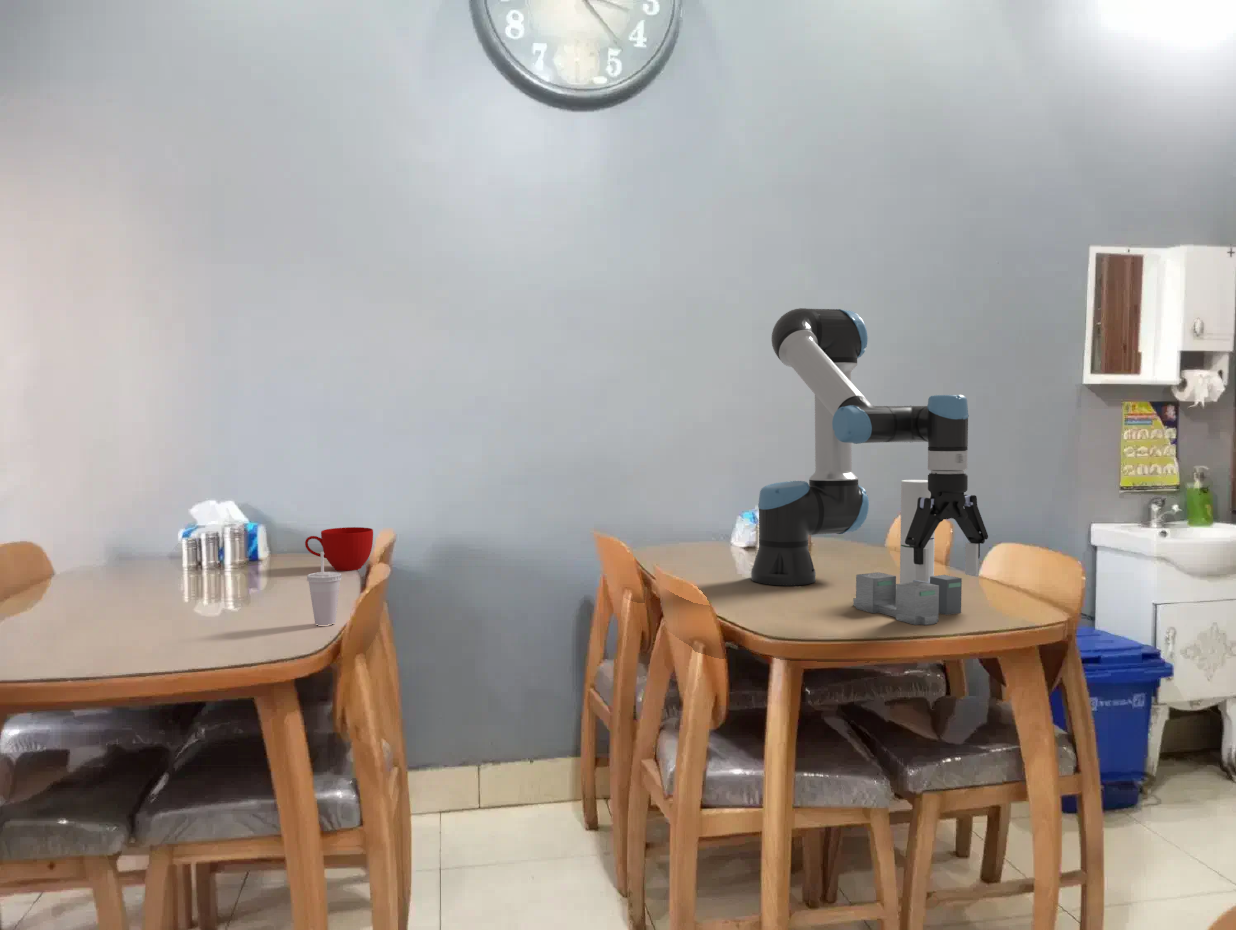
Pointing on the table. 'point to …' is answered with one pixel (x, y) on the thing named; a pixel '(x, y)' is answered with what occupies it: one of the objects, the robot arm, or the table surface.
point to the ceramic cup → (345, 547)
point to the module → (948, 593)
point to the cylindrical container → (908, 508)
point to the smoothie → (324, 594)
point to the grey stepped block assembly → (897, 598)
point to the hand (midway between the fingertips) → (947, 578)
